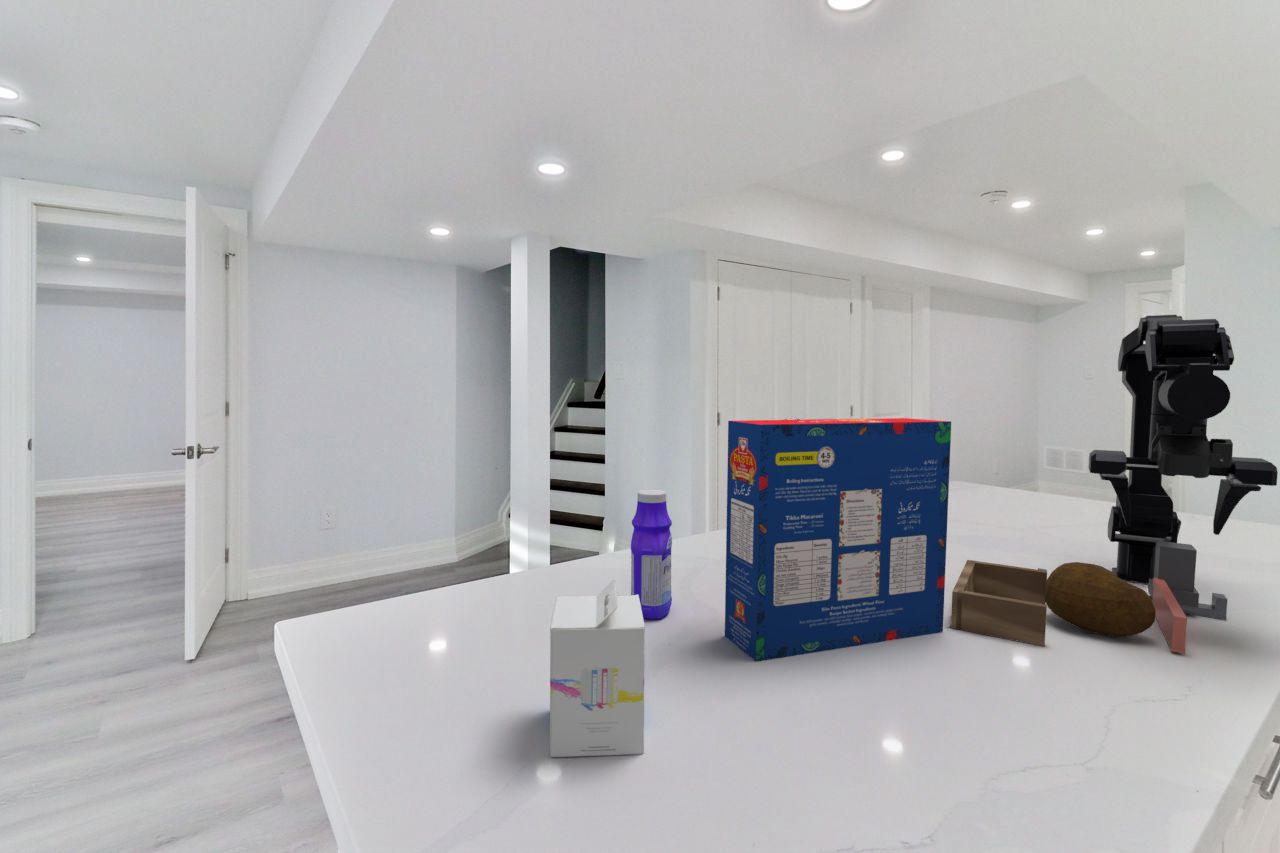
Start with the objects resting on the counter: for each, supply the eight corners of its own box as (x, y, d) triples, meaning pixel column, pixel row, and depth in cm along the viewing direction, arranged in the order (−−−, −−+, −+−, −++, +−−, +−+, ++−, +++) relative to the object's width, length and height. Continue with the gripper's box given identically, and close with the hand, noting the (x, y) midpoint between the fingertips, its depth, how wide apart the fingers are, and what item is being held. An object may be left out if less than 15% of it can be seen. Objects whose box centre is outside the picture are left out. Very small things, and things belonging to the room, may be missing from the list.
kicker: (1147, 599, 95) (1151, 539, 94) (1191, 605, 92) (1195, 544, 92) (1171, 651, 76) (1176, 577, 76) (1227, 661, 74) (1232, 584, 73)
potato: (1114, 651, 77) (1118, 582, 76) (1025, 617, 88) (1028, 556, 88) (1159, 642, 80) (1164, 575, 79) (1068, 610, 91) (1071, 551, 90)
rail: (1037, 586, 102) (1037, 568, 102) (1221, 614, 90) (1223, 594, 89) (1036, 590, 100) (1037, 571, 100) (1225, 620, 88) (1227, 599, 87)
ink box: (554, 708, 63) (553, 577, 62) (637, 705, 63) (638, 575, 62) (548, 760, 54) (548, 608, 53) (645, 755, 55) (646, 606, 54)
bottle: (666, 623, 85) (668, 496, 84) (626, 620, 86) (626, 494, 85) (674, 605, 92) (675, 487, 91) (636, 602, 93) (637, 486, 92)
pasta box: (899, 611, 90) (906, 418, 88) (942, 632, 83) (951, 421, 81) (724, 636, 81) (728, 420, 79) (755, 662, 73) (760, 424, 72)
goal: (966, 590, 99) (967, 559, 99) (1045, 603, 94) (1047, 571, 93) (950, 627, 84) (952, 591, 84) (1044, 646, 78) (1046, 607, 78)
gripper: (1095, 416, 82) (1088, 533, 83) (1296, 421, 72) (1285, 555, 73) (1091, 411, 91) (1085, 516, 93) (1269, 415, 81) (1259, 533, 82)
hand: (1170, 529), depth 85 cm, fingers open, 9 cm apart
